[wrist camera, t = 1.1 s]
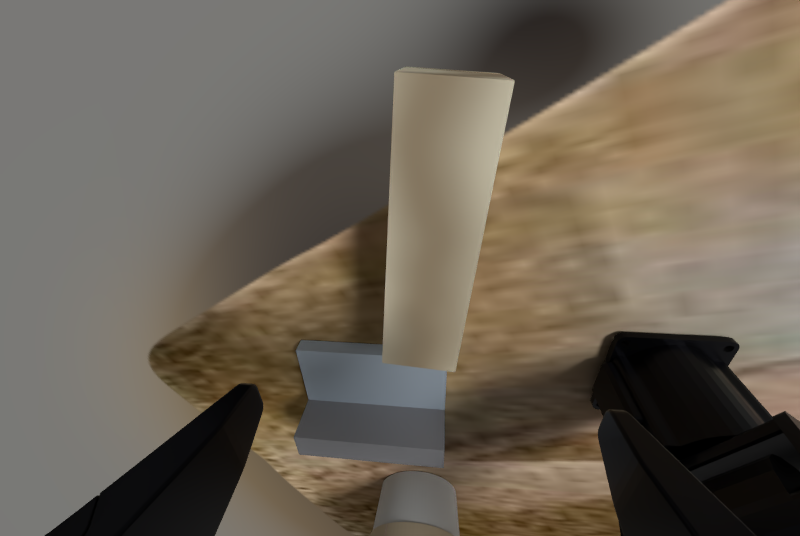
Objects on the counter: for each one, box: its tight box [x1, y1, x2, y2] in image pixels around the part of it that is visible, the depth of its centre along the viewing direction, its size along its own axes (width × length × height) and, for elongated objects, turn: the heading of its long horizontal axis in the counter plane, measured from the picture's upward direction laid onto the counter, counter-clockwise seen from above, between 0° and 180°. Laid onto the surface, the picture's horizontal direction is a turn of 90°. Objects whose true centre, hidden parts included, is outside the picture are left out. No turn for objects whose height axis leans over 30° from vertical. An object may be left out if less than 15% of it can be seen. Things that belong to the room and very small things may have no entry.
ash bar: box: [382, 67, 515, 372], centre depth 17 cm, size 4×14×4 cm, turn 177°
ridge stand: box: [294, 340, 447, 468], centre depth 25 cm, size 10×12×4 cm
